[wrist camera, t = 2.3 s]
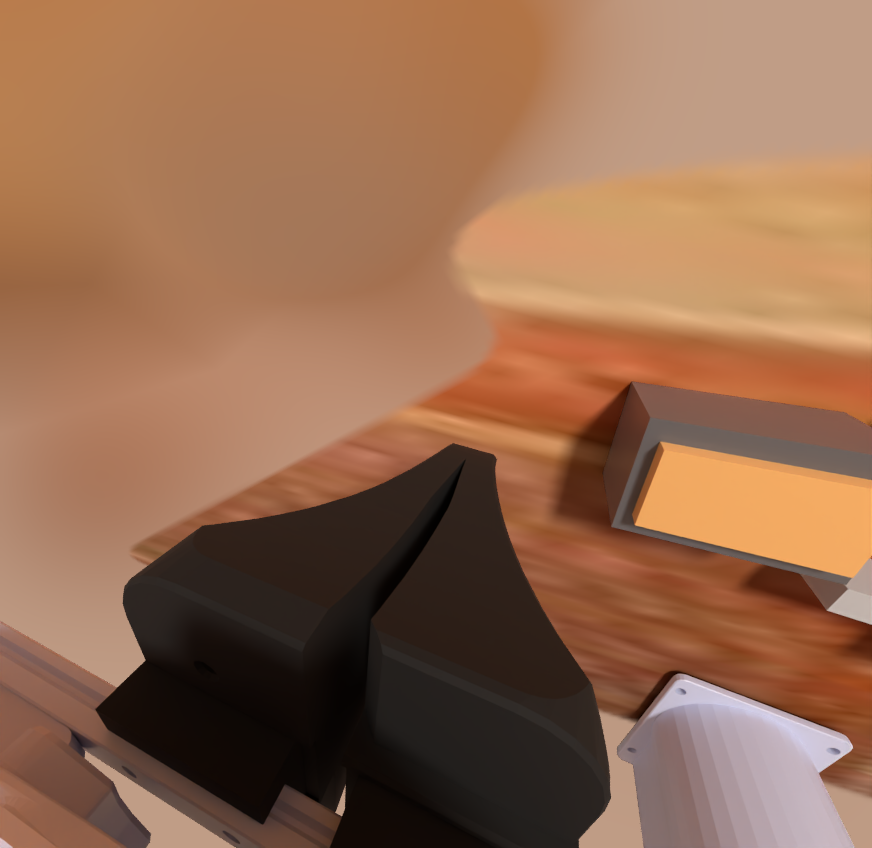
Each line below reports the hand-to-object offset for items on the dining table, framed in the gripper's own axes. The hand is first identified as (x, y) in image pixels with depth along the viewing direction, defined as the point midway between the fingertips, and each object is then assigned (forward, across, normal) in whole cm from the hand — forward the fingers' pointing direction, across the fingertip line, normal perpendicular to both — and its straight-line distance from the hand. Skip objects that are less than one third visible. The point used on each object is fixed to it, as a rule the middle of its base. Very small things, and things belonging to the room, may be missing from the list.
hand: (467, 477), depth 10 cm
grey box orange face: (+7, -9, 0) cm, 11 cm away
